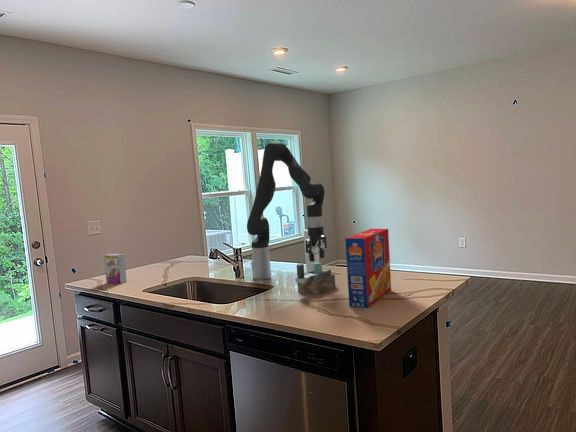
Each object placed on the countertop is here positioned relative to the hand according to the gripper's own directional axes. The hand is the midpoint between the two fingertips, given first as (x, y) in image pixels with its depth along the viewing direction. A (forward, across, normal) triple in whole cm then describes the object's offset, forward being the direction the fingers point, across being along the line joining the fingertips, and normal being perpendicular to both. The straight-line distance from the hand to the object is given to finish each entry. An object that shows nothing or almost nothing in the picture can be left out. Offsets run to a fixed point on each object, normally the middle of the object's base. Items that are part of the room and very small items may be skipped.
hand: (317, 259), depth 210 cm
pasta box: (+14, +5, +30) cm, 34 cm away
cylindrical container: (+14, -20, -17) cm, 30 cm away
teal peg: (+14, 0, 0) cm, 14 cm away
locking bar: (+8, +10, 0) cm, 13 cm away
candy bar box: (+16, +35, -117) cm, 123 cm away
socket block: (+14, +2, 0) cm, 14 cm away
